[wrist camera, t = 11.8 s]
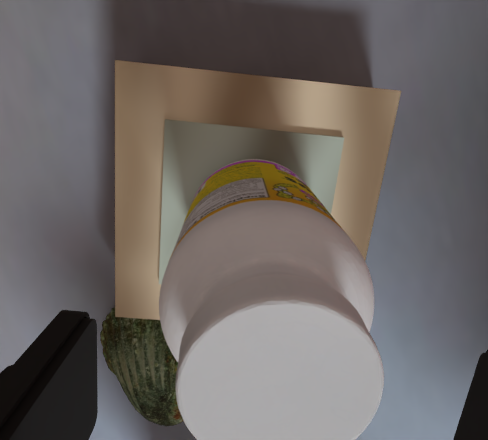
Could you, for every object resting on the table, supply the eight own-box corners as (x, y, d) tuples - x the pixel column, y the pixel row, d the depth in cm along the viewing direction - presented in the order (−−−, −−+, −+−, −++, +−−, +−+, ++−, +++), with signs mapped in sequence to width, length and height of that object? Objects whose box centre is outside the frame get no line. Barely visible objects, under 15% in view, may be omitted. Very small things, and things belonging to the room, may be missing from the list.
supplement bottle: (331, 248, 21) (461, 454, 9) (220, 290, 22) (206, 536, 10) (288, 134, 19) (383, 204, 7) (168, 184, 20) (70, 327, 8)
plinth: (373, 91, 23) (403, 90, 19) (333, 300, 27) (351, 336, 23) (135, 65, 22) (113, 59, 18) (132, 284, 27) (113, 319, 22)
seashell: (243, 326, 23) (226, 453, 26) (246, 293, 27) (232, 407, 30) (78, 305, 23) (81, 434, 27) (105, 275, 27) (105, 390, 30)
